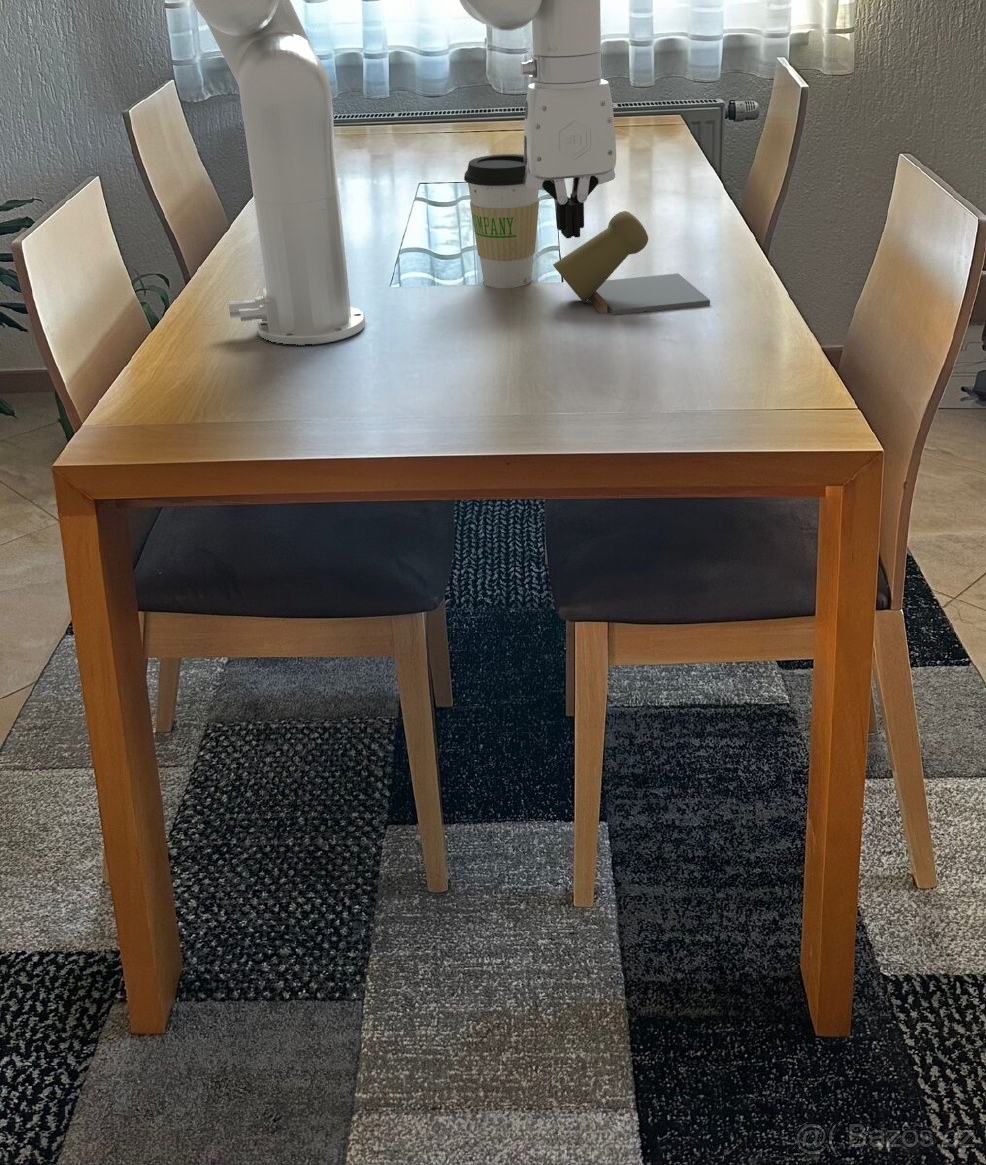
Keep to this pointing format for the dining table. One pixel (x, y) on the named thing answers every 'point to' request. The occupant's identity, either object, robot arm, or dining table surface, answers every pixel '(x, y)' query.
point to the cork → (602, 255)
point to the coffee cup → (503, 219)
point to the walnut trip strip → (598, 302)
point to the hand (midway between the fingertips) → (570, 234)
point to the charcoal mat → (650, 294)
